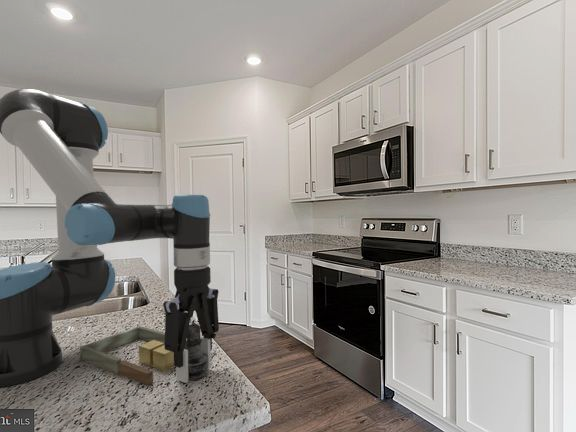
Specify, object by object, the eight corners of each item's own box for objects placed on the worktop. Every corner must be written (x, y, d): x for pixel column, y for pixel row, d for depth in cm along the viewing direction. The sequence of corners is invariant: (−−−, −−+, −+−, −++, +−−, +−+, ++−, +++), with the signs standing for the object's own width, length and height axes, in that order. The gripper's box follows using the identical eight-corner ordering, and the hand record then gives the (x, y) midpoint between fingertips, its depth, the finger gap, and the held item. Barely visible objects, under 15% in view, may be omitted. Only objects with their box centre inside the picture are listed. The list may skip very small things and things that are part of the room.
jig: (146, 386, 66) (146, 371, 66) (80, 359, 78) (80, 346, 78) (204, 355, 79) (204, 343, 79) (139, 336, 92) (139, 326, 92)
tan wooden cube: (164, 371, 72) (164, 354, 72) (153, 367, 74) (152, 350, 74) (179, 364, 75) (178, 347, 75) (167, 360, 77) (167, 343, 77)
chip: (150, 366, 74) (149, 349, 74) (139, 362, 76) (138, 345, 76) (164, 359, 78) (164, 343, 78) (153, 356, 80) (153, 339, 80)
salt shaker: (197, 366, 74) (196, 313, 74) (213, 374, 70) (213, 319, 70) (174, 376, 70) (173, 320, 69) (190, 385, 66) (189, 326, 66)
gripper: (168, 276, 60) (170, 400, 60) (234, 261, 76) (235, 359, 76) (142, 272, 63) (144, 390, 64) (210, 259, 80) (212, 353, 80)
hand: (194, 373), depth 70 cm, fingers closed on salt shaker, 6 cm apart
